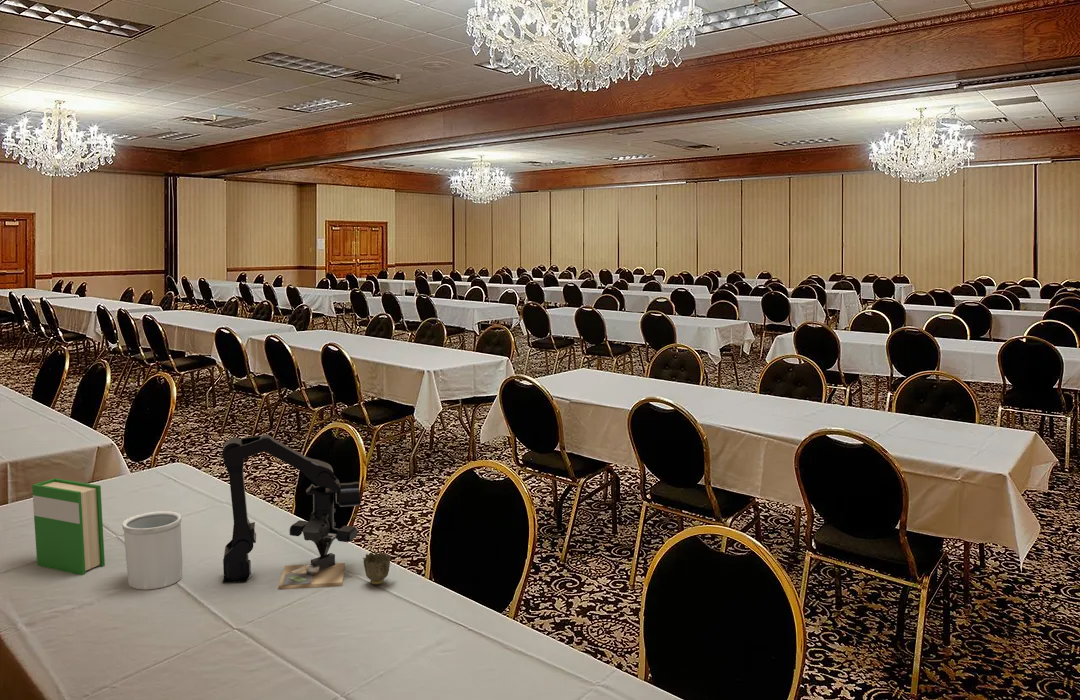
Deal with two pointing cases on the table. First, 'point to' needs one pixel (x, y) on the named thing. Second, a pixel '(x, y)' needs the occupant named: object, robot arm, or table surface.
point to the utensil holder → (153, 549)
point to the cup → (377, 567)
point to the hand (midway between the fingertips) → (323, 559)
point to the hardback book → (68, 525)
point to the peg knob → (318, 564)
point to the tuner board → (312, 577)
